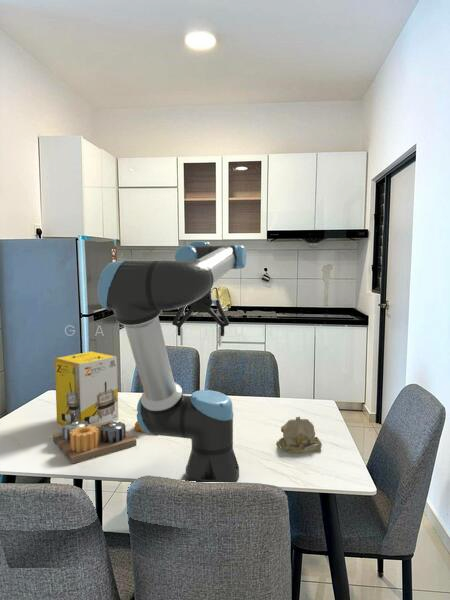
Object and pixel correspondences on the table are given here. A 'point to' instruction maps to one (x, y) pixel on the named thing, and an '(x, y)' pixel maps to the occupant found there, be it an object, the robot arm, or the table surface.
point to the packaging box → (86, 388)
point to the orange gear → (84, 438)
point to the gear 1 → (71, 427)
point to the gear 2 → (112, 432)
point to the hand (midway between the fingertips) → (201, 345)
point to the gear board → (97, 451)
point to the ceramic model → (299, 437)
